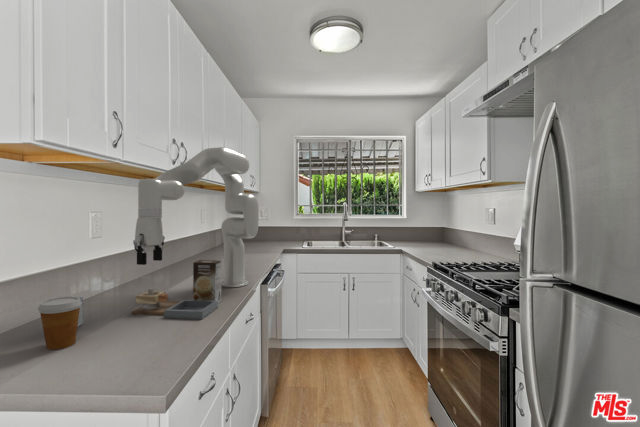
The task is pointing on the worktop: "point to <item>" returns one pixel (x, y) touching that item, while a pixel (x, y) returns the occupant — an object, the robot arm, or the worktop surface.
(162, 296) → the birch ring
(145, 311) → the stake board
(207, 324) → the worktop surface
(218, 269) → the brown food box
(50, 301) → the disposable coffee cup
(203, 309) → the grey square tray
